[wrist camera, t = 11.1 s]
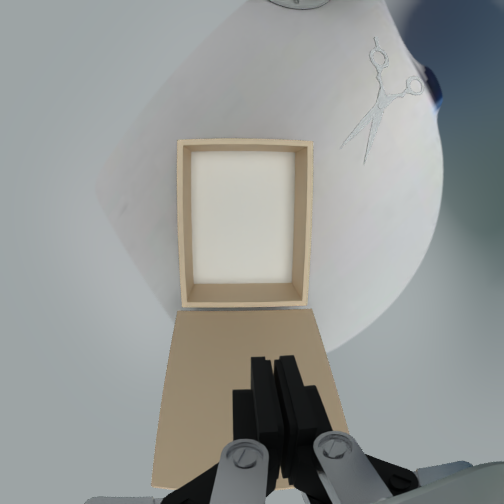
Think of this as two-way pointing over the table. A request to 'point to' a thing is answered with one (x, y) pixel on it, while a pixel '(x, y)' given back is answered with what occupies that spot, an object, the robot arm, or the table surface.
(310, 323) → the lid
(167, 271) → the table surface
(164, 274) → the table surface
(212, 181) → the box
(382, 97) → the scissors
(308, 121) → the table surface
